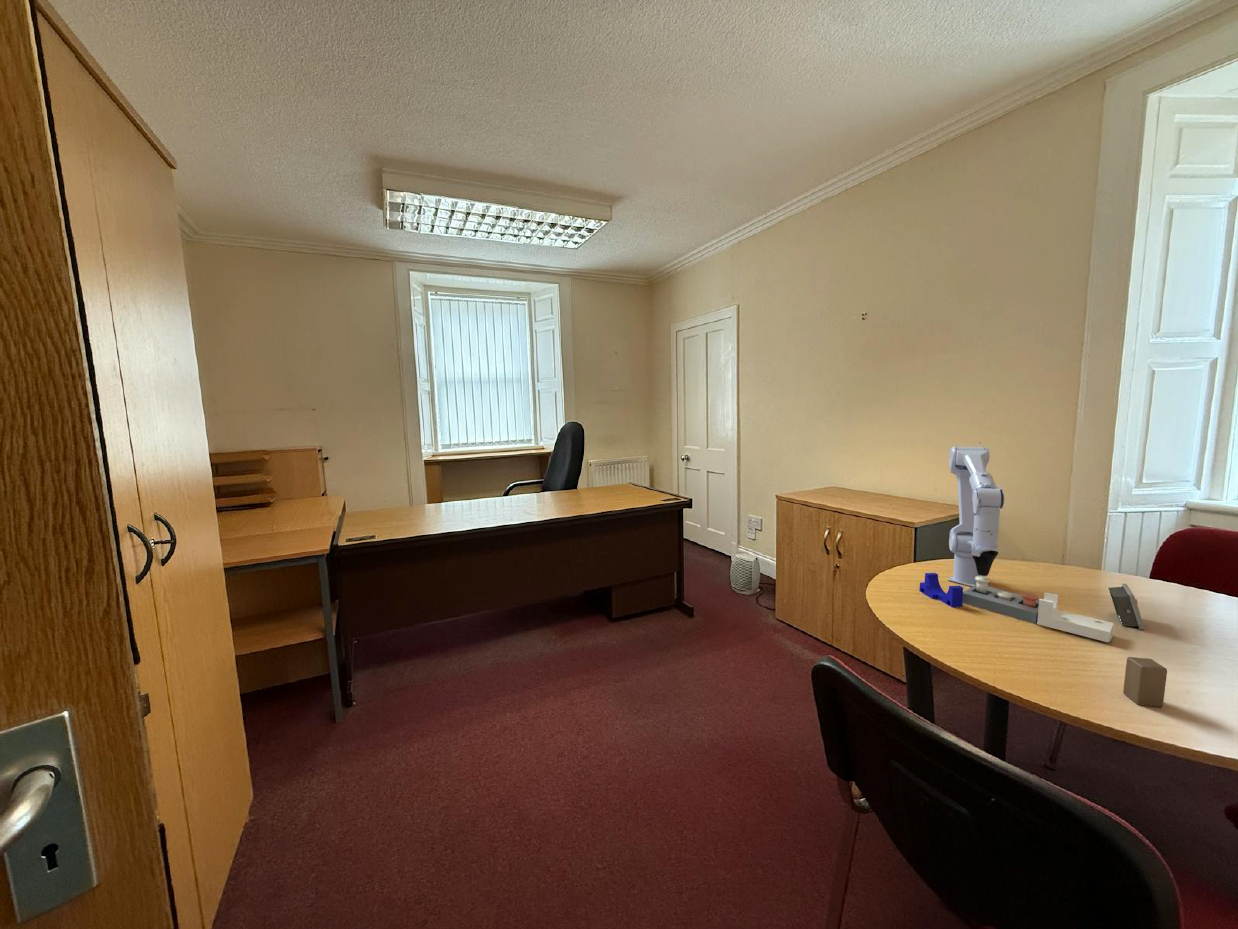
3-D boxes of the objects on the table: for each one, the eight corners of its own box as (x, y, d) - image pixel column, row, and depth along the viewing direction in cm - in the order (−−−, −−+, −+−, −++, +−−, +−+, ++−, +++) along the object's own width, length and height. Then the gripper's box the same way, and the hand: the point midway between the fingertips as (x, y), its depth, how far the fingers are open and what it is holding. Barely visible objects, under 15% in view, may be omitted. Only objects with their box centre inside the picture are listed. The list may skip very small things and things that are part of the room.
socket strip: (977, 593, 144) (977, 584, 144) (1049, 613, 130) (1050, 602, 130) (960, 602, 138) (961, 592, 138) (1035, 624, 124) (1036, 613, 124)
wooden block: (1146, 696, 94) (1151, 658, 93) (1163, 708, 90) (1168, 669, 89) (1121, 693, 95) (1125, 655, 94) (1137, 705, 91) (1142, 666, 90)
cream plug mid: (999, 603, 137) (1000, 590, 136) (1013, 607, 134) (1014, 594, 133) (994, 606, 135) (995, 593, 134) (1009, 610, 132) (1010, 597, 131)
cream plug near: (977, 587, 141) (978, 575, 140) (991, 591, 138) (991, 578, 138) (972, 590, 139) (973, 577, 139) (986, 594, 136) (987, 581, 136)
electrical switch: (1145, 631, 119) (1143, 595, 118) (1115, 628, 122) (1113, 592, 122) (1136, 618, 126) (1135, 583, 126) (1109, 615, 129) (1107, 581, 129)
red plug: (1023, 604, 132) (1024, 591, 131) (1039, 608, 129) (1040, 595, 129) (1018, 607, 130) (1019, 594, 130) (1034, 612, 127) (1035, 598, 127)
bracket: (1036, 627, 123) (1039, 599, 122) (1043, 619, 127) (1045, 592, 126) (1108, 646, 113) (1111, 616, 112) (1112, 636, 117) (1115, 607, 116)
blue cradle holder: (919, 591, 148) (920, 573, 147) (933, 591, 148) (934, 572, 147) (946, 608, 136) (947, 588, 135) (961, 607, 136) (963, 587, 135)
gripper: (978, 522, 144) (975, 565, 145) (959, 531, 135) (956, 577, 137) (1007, 527, 138) (1004, 572, 140) (989, 536, 130) (986, 584, 131)
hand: (982, 575), depth 138 cm, fingers closed
